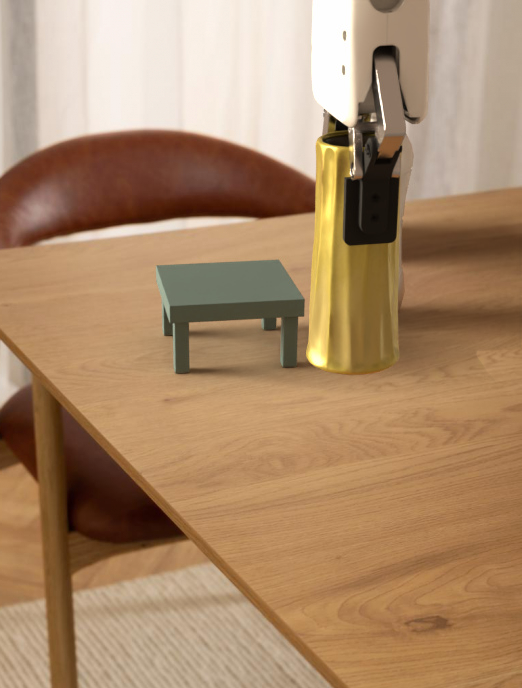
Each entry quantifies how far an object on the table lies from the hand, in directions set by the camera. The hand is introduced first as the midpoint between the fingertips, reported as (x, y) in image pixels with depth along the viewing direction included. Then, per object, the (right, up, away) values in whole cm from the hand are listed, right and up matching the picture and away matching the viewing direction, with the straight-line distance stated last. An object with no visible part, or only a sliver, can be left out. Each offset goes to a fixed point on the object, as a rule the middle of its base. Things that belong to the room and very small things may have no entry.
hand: (356, 225), depth 74 cm
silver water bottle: (+6, -1, +35) cm, 36 cm away
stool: (-7, -4, +28) cm, 30 cm away
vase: (0, -8, +4) cm, 9 cm away
